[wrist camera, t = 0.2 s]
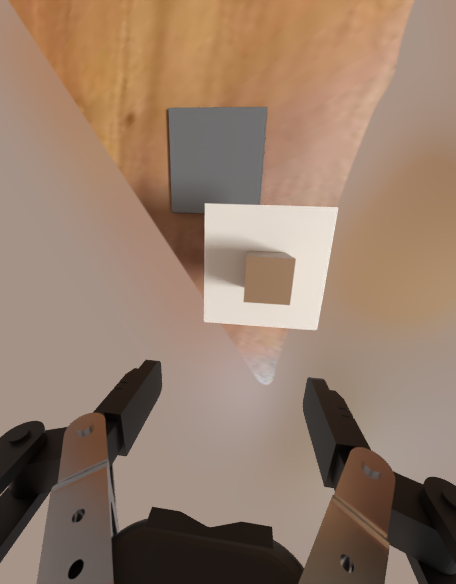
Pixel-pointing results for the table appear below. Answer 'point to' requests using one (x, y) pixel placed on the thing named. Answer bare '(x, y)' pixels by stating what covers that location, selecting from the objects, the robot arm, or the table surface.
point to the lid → (266, 264)
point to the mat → (216, 156)
